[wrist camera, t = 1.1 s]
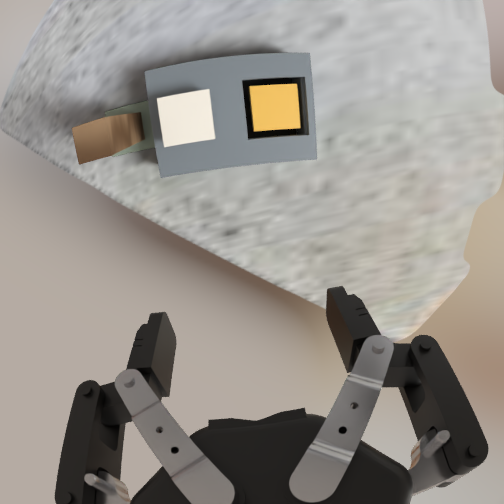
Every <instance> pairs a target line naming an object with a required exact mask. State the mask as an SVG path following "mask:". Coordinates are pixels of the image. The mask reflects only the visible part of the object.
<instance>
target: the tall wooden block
mask: <svg viewBox="0 0 504 504" xmlns="http://www.w3.org/2000/svg"><path fill="white" fill-rule="evenodd" d="M72 132H73V137H74V143H75V148H76V153H77V157H78V162H79V164H83V163H86V162H90V161H93V160H97V159H101V158H104V157H108V156H112V155H114V154H116V153H118V152H120V151H122V150H124V149H126V148H128V147H130V146H132V145H134V144H136V143H138V142H141V141H143V140H145V135H144V129H143V123H142V116H141V112H138V113H130V114H122V115H115V116H109V117H104V118H100V119H97V120H94V121H91V122H88V123H85V124H82V125H79V126H76V127H73V128H72Z"/></svg>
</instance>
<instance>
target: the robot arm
mask: <svg viewBox="0 0 504 504" xmlns="http://www.w3.org/2000/svg"><path fill="white" fill-rule="evenodd" d="M326 316H327V321H328V325H329V327H330V330H331V332H332V334H333V337H334V340H335V342H336V345H337V347H338V350H339V352H340V355H341V358H342V360H343V363H344V365H345V368H346V370H347V373H349V372H351V374H350V375H348V377H347V378H346V380H345V382H344V384H343V387H342V389H341V391H340V393H339V395H338V397H337V399H336V401H335V403H334V405H333V407H332V409H331V411H330V412H329V414H328V416H327V418H325V417H323V416H319V415H314V414H306V412H305V408H301V409H296V410H290V411H284V412H280V413H277V414H274V415H272V416H269V417H267V418H264V419H261V420H258V421H251V420H243V419H234V418H228V419H216V420H209V426H208V427H205V428H203V429H200V430H198V431H196V432H195V433H193V434H192V435H191V436H190V437H188V436H187V434H186V433H185V432H184V431H183V429H182V428H181V427H180V426H179V425H178V423H177V422H176V421H175V419H174V418H173V417H172V416H171V414H170V413H169V412H168V410H167V409H166V408H165V407H164V405H163V404H162V403H161V399H162V397H169V395H170V387H171V379H172V371H173V364H174V356H175V350H176V336H175V333H174V330H173V328H172V325H171V323H170V321H169V318H168V316H167V314H166V312H159V313H151V314H150V317H149V320H148V323H147V324H143V325H142V326H141V327H140V329H139V330H138V331H137V333H136V337H135V341H134V343H133V348H132V350H131V354H130V358H129V361H128V365H127V369H126V370H124V371H123V372H121V373H120V374H119V375H118V376H117V377H116V379H115V382H112V383H109V384H106V385H102V386H100V385H99V384H98V383H97V382H96V381H93V380H89V381H85V382H83V383H82V384H80V385H79V387H78V388H77V390H76V393H75V397H74V401H73V404H72V408H71V412H70V416H69V420H68V424H67V429H66V433H65V438H64V443H63V447H62V452H61V458H60V464H59V469H58V475H57V482H56V490H55V501H56V504H410V501H411V498H412V496H413V495H416V494H419V493H421V492H424V491H426V490H429V489H431V488H433V487H435V486H436V487H446V486H448V485H450V484H451V483H453V482H455V481H456V480H458V479H459V478H461V477H463V476H464V475H466V474H467V473H469V472H470V471H472V470H473V469H475V468H476V467H477V466H479V465H480V464H481V463H483V461H484V460H485V459H486V457H487V454H488V444H487V441H486V439H485V436H484V434H483V432H482V429H481V427H480V425H479V422H478V420H477V418H476V416H475V413H474V411H473V409H472V407H471V405H470V403H469V401H468V399H467V397H466V395H465V393H464V391H463V389H462V387H461V385H460V383H459V381H458V379H457V377H456V375H455V373H454V371H453V369H452V368H451V366H450V364H449V362H448V360H447V358H446V357H445V355H444V353H443V351H442V350H441V348H440V346H439V344H438V343H437V341H436V340H435V339H434V338H432V337H431V336H428V335H419V336H417V337H415V338H414V339H413V340H412V342H411V344H397V343H392V341H391V340H390V339H389V338H387V337H385V336H383V335H381V334H380V332H379V330H378V328H377V326H376V325H375V323H374V321H373V319H372V317H371V316H370V314H369V312H368V310H367V309H366V308H365V305H364V303H363V302H362V300H361V299H360V298H358V297H357V296H356V295H354V294H352V295H347V293H346V291H345V289H344V287H343V286H339V287H334V288H328V289H327V304H326ZM382 387H398V388H399V390H400V393H401V395H402V398H403V400H404V403H405V406H406V408H407V411H408V414H409V416H410V419H411V422H412V425H413V428H414V430H415V434H416V437H417V439H418V442H417V444H416V445H415V446H414V447H413V449H412V452H411V460H412V462H411V467H410V469H409V470H407V469H406V468H405V467H404V466H403V465H401V464H400V463H398V462H396V461H394V460H393V459H391V458H389V457H388V456H386V455H384V454H382V453H381V452H379V451H378V450H376V449H375V448H373V447H371V446H369V445H368V444H367V443H365V442H363V441H362V440H361V437H362V435H363V433H364V431H365V429H366V426H367V424H368V422H369V419H370V417H371V414H372V411H373V409H374V407H375V404H376V401H377V399H378V396H379V393H380V390H381V388H382ZM131 421H133V422H134V424H135V425H136V427H137V429H138V430H139V432H140V433H141V435H142V437H143V438H144V439H145V441H146V443H147V444H148V446H149V447H150V448H151V450H152V451H153V453H154V454H155V456H156V457H157V459H158V460H159V461H160V463H161V464H162V465H163V466H162V467H161V468H160V469H159V471H157V473H156V474H155V475H154V476H153V477H152V478H151V479H150V480H149V481H148V482H147V483H146V484H145V485H144V486H143V488H141V489H140V490H139V491H138V493H136V495H135V496H134V497H133V498H132V500H130V498H129V495H128V489H127V487H126V485H125V484H124V483H123V482H122V481H120V474H121V461H122V450H123V440H124V431H125V423H127V422H131Z"/></svg>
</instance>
